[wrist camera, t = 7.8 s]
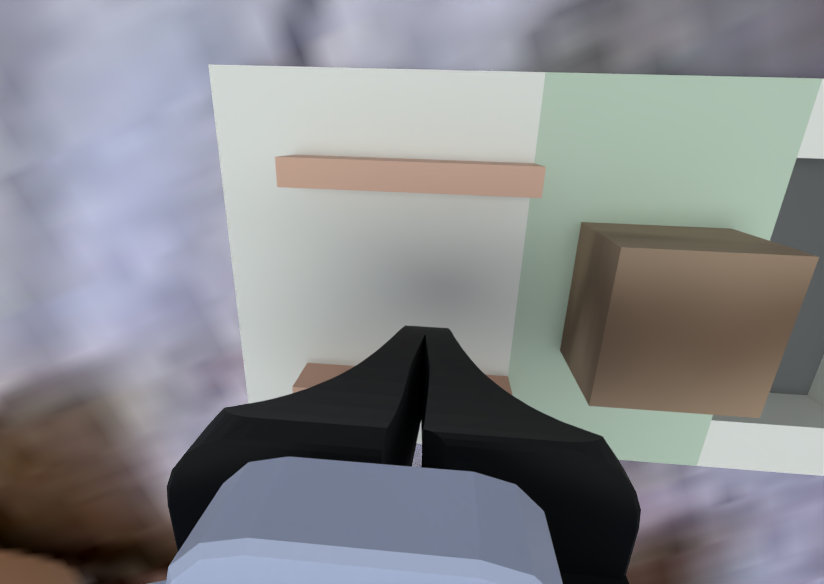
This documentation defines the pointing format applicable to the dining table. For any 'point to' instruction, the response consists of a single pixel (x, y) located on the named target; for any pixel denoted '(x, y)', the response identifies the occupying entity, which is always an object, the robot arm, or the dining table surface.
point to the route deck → (509, 225)
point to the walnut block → (681, 317)
